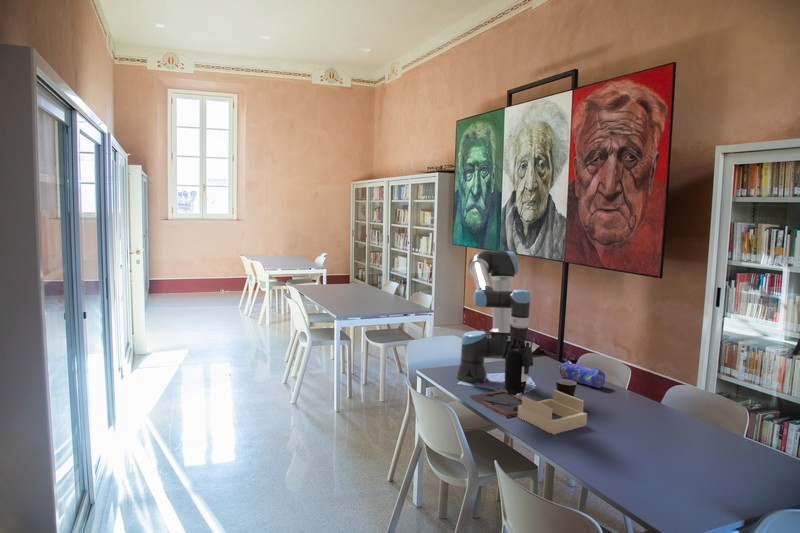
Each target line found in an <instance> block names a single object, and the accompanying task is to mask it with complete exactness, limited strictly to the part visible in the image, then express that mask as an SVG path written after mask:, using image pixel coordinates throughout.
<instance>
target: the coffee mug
mask: <svg viewBox="0 0 800 533" xmlns="http://www.w3.org/2000/svg"><path fill="white" fill-rule="evenodd" d="M555 384H556V390H557V391H559V392H562V393H564V394H567V395H570V396H572V397H575V394H576V390H577V389H576V388H577V382H575V381H572V380H568V379H564V378H559V379H556V380H555Z"/></svg>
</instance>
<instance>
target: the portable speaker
mask: <svg viewBox="0 0 800 533" xmlns="http://www.w3.org/2000/svg"><path fill="white" fill-rule="evenodd" d="M521 349H523V348H521ZM522 351H523V352H525V351H526V350H522ZM522 351H521V350H520V351H519V349H518V348H515V349H511V348H510V347H509V348H508V353H507V357H506V364H505V363H504V385H505V386H504V387H505V388H504V390H506V391H507V392H508V394H511V395H517V396H518V394H521V395H524V394H525V390H526V387H527V386H526V385H527V381H528V380H527V381H525V382H521V376H522V366H524V365H523V361H522ZM526 364H527V363H526Z"/></svg>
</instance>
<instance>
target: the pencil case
mask: <svg viewBox="0 0 800 533" xmlns="http://www.w3.org/2000/svg"><path fill="white" fill-rule="evenodd" d="M558 369H559V374H560V376H561V378H562V379H568V380H572V381H575V382H576V383H578V384H580V385H585V386H591V387H593V388H596V389H601V388H602V387H603V386H604V384H605V381H606V374H605V372H604V371H603V370H601V369H599V368H597V367H595V368H593V367H587V366H583V365H580V364H577V363H572V362H571V361H570V360H566V361H564V362H563V364H559V366H558Z"/></svg>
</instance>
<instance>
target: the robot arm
mask: <svg viewBox="0 0 800 533" xmlns="http://www.w3.org/2000/svg"><path fill="white" fill-rule="evenodd" d="M518 260H519V259H518V257H517V254H516V253H515V252H514V251H511V250H510V251H509V250H492V249H490V250H489V249H484V250H480V251H478V252H476V253H475V254H473V256H471V258H470V259H469V261H468V262H469V263H468V271H469V272H470V274H471V275H472V278H473V282H474V283H473V284H474V286H475V290H474V291H473V306H475V307H477V308H492V328H491V329H490V330H489V334H487V333H486V332H485V331H483V330H471V331H466V332H465V333H463V335H462V336H461V341H460V343H461V349H460V350H461V353H460V361H459V362H460V363H459V366H458V369H457V371H456V375H455V377H456V376H457V377H456V379H458V378H459V379H458V380H460V379H461V380H460V381H462V380H465V381H464V382H467V381H471V382H470V383H479V382H478V381H483V382H485V381H487V379H488V378H487V377H488V374H487V370H486V367H485V359H496V360H497V359H500V360H504V365H505V364H506V357H507V353H508V348H509V347H510V348H511V349H515V348H518V349H519V351H520V350H521V351H522V350H526V351H525V352H523V351H522V361H523V365H524V366H522V376H521V382H525V381H528V375H529V373H530V367H533V366H534V357H533V342H532V341H531V342H529V341H528V340H527V337H528V336H529V322H530V321H529V320H530V319H529V318H530V306H531V291H530V290H526V289H520V288H519V289H512V281H513V280H514V278H515V275H518V272H519V262H518ZM491 279H492V280H493V283H492V281H491ZM521 348H523V349H521ZM526 363H527V364H526ZM484 380H485V381H484Z"/></svg>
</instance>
